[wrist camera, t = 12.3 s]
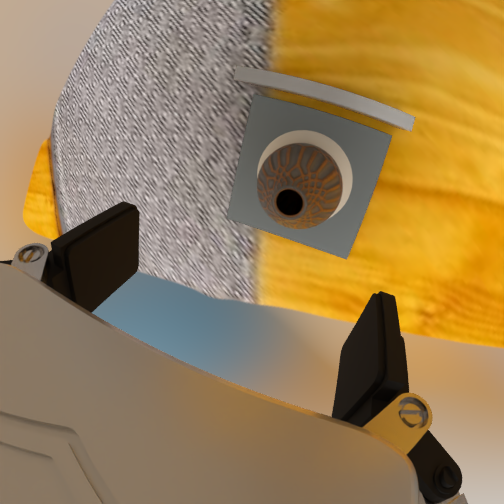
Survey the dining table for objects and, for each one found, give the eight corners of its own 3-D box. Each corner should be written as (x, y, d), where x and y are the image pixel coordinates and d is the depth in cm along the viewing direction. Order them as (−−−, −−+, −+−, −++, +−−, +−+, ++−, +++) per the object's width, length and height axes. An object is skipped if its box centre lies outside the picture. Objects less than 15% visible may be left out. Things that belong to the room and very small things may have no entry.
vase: (255, 162, 27) (219, 182, 20) (318, 126, 24) (307, 130, 17) (292, 223, 29) (271, 265, 21) (355, 192, 26) (360, 226, 18)
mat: (254, 94, 25) (253, 94, 24) (391, 135, 23) (392, 135, 22) (228, 217, 31) (226, 218, 31) (346, 257, 29) (346, 259, 29)
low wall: (254, 73, 24) (236, 65, 20) (402, 116, 22) (415, 117, 17) (251, 84, 24) (233, 79, 20) (399, 128, 22) (411, 131, 18)
